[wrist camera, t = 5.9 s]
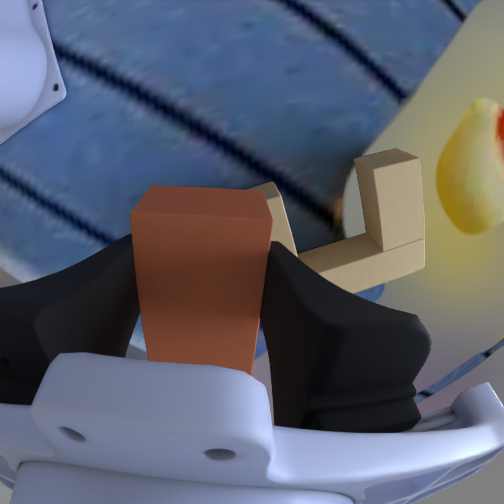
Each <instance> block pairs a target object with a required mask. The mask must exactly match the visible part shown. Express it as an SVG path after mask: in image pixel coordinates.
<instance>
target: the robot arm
mask: <svg viewBox="0 0 504 504" xmlns="http://www.w3.org/2000/svg"><path fill="white" fill-rule="evenodd" d="M36 5H37V8H36V9H35V10H34V8H35V6H36ZM57 84H58V85H59V88H58V90H57V91H56V90H55V87H56V85H57ZM65 97H66V88H65V85H64V82H63V79H62V76H61V72H60V69H59V66H58V62H57V59H56V55H55V52H54V48H53V45H52V41H51V37H50V33H49V29H48V25H47V21H46V16H45V12H44V7H43V3H42V0H0V145H1V144H2V143H3V142H5V141H6V140H7V139H8V138H10V137H11V136H12V135H13V134H15V133H16V132H17V131H19V130H20V129H21V128H23V127H24V126H25V125H27V124H28V123H29V122H31V121H32V120H34V119H35V118H36V117H38V116H39V115H41V114H42V113H44V112H45V111H47V110H48V109H50V108H51V107H53V106H54V105H56V104H57V103H59V102H61V101H62V100H63V99H64V98H65ZM139 314H140V305H139V298H138V290H137V282H136V273H135V264H134V254H133V244H132V234H129V235H126V236H124V237H123V238H121V239H119V240H117V241H116V242H114V243H112V244H111V245H109V246H107V247H106V248H104V249H102V250H101V251H99V252H97V253H95V254H94V255H92V256H90V257H88V258H86V259H84V260H83V261H81V262H79V263H77V264H75V265H73V266H71V267H68V268H66V269H64V270H62V271H59V272H57V273H54V274H51V275H48V276H45V277H42V278H40V279H37V280H33V281H30V282H26V283H22V284H18V285H14V286H9V287H3V288H0V484H2V485H4V486H6V487H8V488H10V489H12V490H13V493H12V497H11V501H10V504H412V503H414V502H417V501H419V500H421V499H424V498H426V497H428V496H430V495H432V494H435V493H437V492H439V491H441V490H443V489H445V488H447V487H450V486H452V485H454V484H456V483H458V482H460V481H462V480H464V479H465V478H467V477H469V476H471V475H473V474H475V473H476V472H478V471H479V470H480V469H481V468H483V467H484V466H485V465H486V464H488V463H489V462H490V461H491V460H493V459H494V458H495V457H496V456H497V455H498V454H500V453H501V452H502V451H503V450H504V406H503V405H502V403H501V402H500V400H499V398H498V397H497V395H496V393H495V392H494V390H493V389H492V387H491V386H490V384H489V383H487V382H486V383H483V384H480V385H477V386H474V387H471V388H468V389H466V390H464V391H463V392H462V393H460V395H459V396H458V397H457V398H456V399H455V400H454V402H453V404H452V406H449V407H446V408H443V409H439V410H436V411H433V412H429V413H425V414H420V412H419V410H418V408H417V406H416V404H415V402H414V399H413V397H414V396H415V395H416V389H415V387H414V385H413V383H412V382H413V381H414V379H415V378H416V376H417V375H418V373H419V371H420V370H421V368H422V367H423V365H424V363H425V361H426V359H427V357H428V355H429V353H430V350H431V343H432V341H431V337H430V334H429V333H428V332H427V330H426V328H425V327H424V325H423V324H422V323H421V321H420V320H419V318H418V317H417V315H415V314H410V313H407V312H403V311H399V310H395V309H391V308H388V307H385V306H382V305H379V304H376V303H373V302H371V301H368V300H366V299H363V298H361V297H359V296H357V295H354V294H352V293H350V292H348V291H346V290H344V289H342V288H340V287H339V286H337V285H335V284H334V283H332V282H330V281H328V280H327V279H325V278H324V277H322V276H321V275H319V274H318V273H317V272H315V271H314V270H313V269H311V268H310V267H309V266H307V265H306V264H305V263H304V262H302V261H301V260H300V259H299V258H298V257H297V256H295V255H294V254H293V253H292V252H291V251H290V250H289V249H287V248H286V247H285V246H284V245H283V244H282V243H280V242H279V241H271V243H270V251H269V258H268V265H267V272H266V280H265V287H264V294H263V301H262V308H261V315H260V318H261V323H262V327H263V332H264V336H265V341H266V346H267V350H268V356H269V362H270V372H271V383H272V396H273V410H274V426H273V425H272V421H271V413H270V406H269V400H268V396H267V392H266V388H265V385H263V384H262V383H260V382H259V381H257V380H256V379H255V378H253V377H252V376H250V375H249V374H247V373H246V372H244V371H240V370H235V369H230V368H225V367H220V366H215V365H201V364H184V363H171V362H159V361H148V360H138V359H130V358H125V355H126V351H127V348H128V345H129V342H130V339H131V336H132V333H133V331H134V328H135V325H136V322H137V320H138V317H139Z"/></svg>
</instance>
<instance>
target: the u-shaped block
mask: <svg viewBox="0 0 504 504" xmlns="http://www.w3.org/2000/svg"><path fill="white" fill-rule="evenodd" d="M354 163H355V168H356V173H357V178H358V184H359V190H360V196H361V202H362V208H363V215H364V221H365V229H366V233H363V234H360V235H357V236H354V237H351V238H347V239H344V240H341V241H338V242H335V243H331V244H328V245H325V246H322V247H318V248H315V249H312V250H309V251H305V252H302V253H299V254H297V252H296V248H295V244H294V240H293V237H292V233H291V229H290V226H289V222H288V218H287V215H286V211H285V208H284V204H283V201H282V197H281V195H280V193H279V191H278V189H277V187H276V185H275V183H274V182H273V181H272V182H268V183H265V184H262V185H258V186H255V187H252V188H249V189H246V190H255V191H263V192H264V195H265V198H266V201H267V203H268V206H269V209H270V212H271V215H272V218H273V228H272V236H271V241H279V242H280V243H282V244H283V245H284V246H285V247H286V248H287V249H289V250H290V251H291V252H292V253H293V254H294V255H295V256H297V257H298V258H299V259H300V260H301V261H302V262H304V263H305V264H306V265H307V266H309V267H310V268H311V269H313V270H314V271H315V272H317V273H318V274H319V275H321V276H322V277H324V278H325V279H327V280H328V281H330V282H332V283H334V284H335V285H337V286H339V287H340V288H342V289H344V290H346V291H348V292H350V293H352V294H353V293H356V292H359V291H362V290H365V289H368V288H371V287H374V286H376V285H379V284H382V283H385V282H388V281H390V280H393V279H396V278H399V277H401V276H404V275H407V274H409V273H412V272H415V271H417V270H420V269H423V268H424V267H425V238H424V237H425V228H424V226H425V225H424V203H423V189H422V177H421V167H420V159H419V157H416V156H414V155H411V154H409V153H407V152H404V151H402V150H399V149H396V148H395V149H391V150H387V151H382V152H378V153H374V154H370V155H366V156H362V157H358V158H354Z"/></svg>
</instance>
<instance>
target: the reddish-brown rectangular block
mask: <svg viewBox="0 0 504 504" xmlns="http://www.w3.org/2000/svg"><path fill="white" fill-rule="evenodd" d="M130 219H131V234H132V244H133V254H134V264H135V273H136V282H137V290H138V298H139V305H140V314H141V320H142V327H143V333H144V339H145V344H146V350H147V355H148V361H159V362H171V363H184V364H201V365H215V366H220V367H225V368H230V369H235V370H240V371H244V372H246V373H247V374H249V375H250V376H251V375H252V369H253V362H254V355H255V349H256V342H257V335H258V328H259V322H260V315H261V308H262V301H263V294H264V287H265V280H266V272H267V265H268V258H269V251H270V243H271V236H272V228H273V218H272V215H271V212H270V209H269V206H268V203H267V201H266V198H265V195H264V192H263V191H255V190H241V189H224V188H206V187H182V186H151V187H150V188H149V190H148V191H147V192H146V193H145V195H144V196H143V197H142V198H141V200H140V201H139V202H138V203H137V205H136V206H135V207H134V209H133V210H132V211H131V213H130Z"/></svg>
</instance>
